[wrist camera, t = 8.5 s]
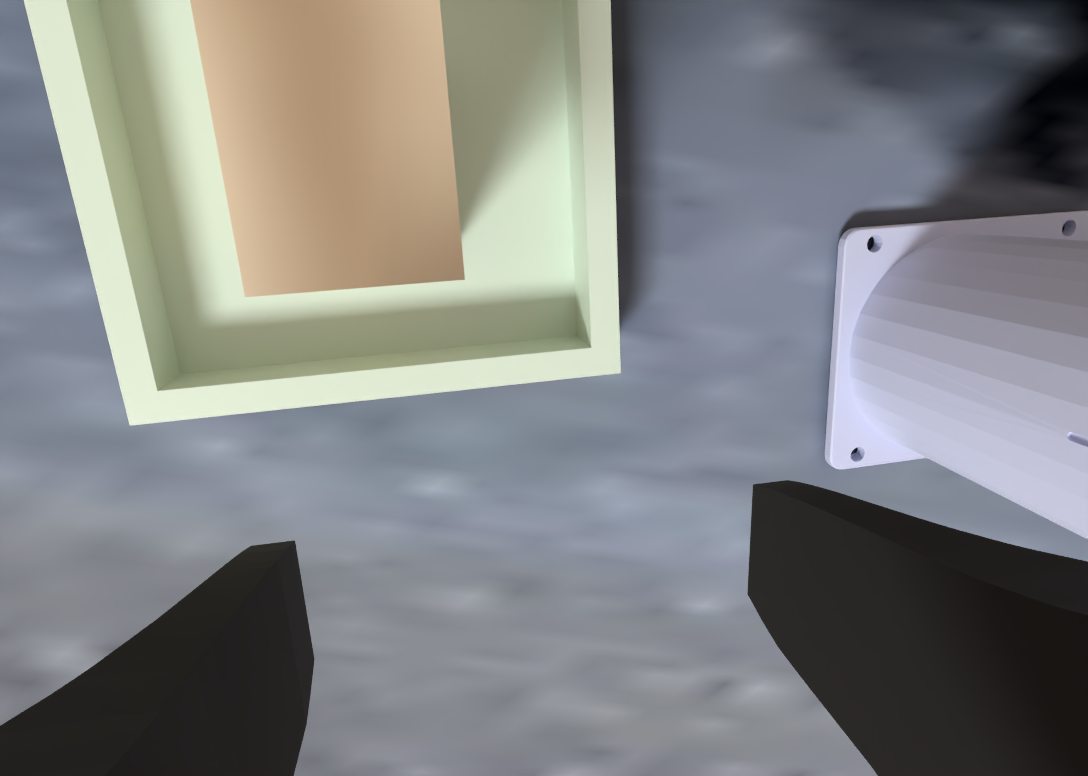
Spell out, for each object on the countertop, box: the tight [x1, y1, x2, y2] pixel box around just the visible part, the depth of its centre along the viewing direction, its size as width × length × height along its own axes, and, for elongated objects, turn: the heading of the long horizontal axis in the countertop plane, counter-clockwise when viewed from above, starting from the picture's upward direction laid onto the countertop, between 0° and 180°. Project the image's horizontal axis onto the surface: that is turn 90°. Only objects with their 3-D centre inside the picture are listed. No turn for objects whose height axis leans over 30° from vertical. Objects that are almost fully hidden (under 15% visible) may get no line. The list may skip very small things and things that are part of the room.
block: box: [190, 0, 465, 297], centre depth 15 cm, size 4×5×6 cm
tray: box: [24, 0, 621, 425], centre depth 17 cm, size 13×13×2 cm
